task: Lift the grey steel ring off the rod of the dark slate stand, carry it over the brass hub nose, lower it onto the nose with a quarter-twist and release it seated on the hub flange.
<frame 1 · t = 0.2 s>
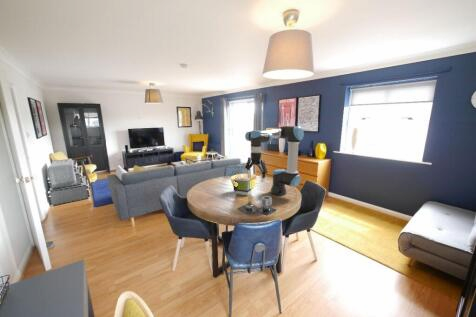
hand: (255, 180, 148), 27 cm above the table, fingers open, 13 cm apart
hub: (249, 209, 161), on the table
stand: (266, 210, 159), on the table
ring: (266, 203, 158), point 6 cm above the table, touching stand
tea box: (242, 193, 196), on the table
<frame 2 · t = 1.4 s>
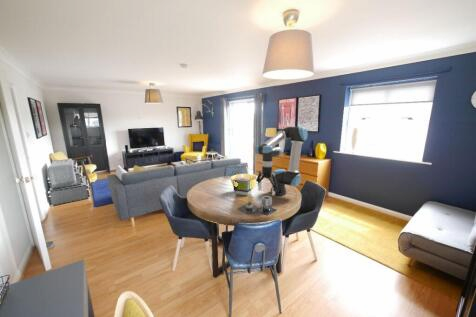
hand: (266, 192, 155), 15 cm above the table, fingers open, 13 cm apart
nothing on the table moved.
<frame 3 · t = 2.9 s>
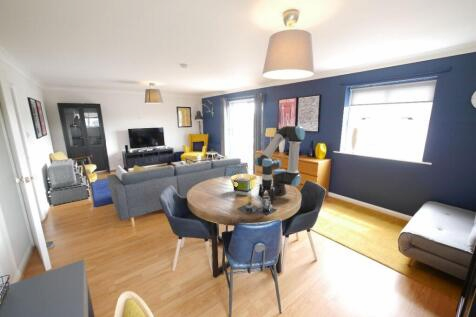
hand: (266, 206, 158), 3 cm above the table, fingers closed on ring, 8 cm apart
ring: (266, 203, 158), point 6 cm above the table, touching gripper, stand
everything else where it was.
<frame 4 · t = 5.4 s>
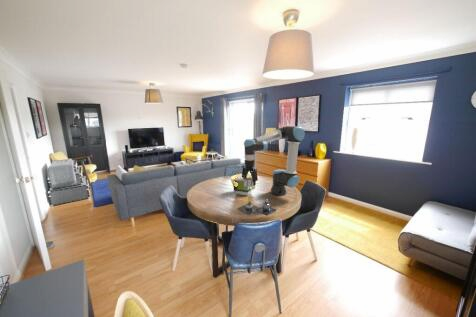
hand: (249, 187, 158), 18 cm above the table, fingers closed on ring, 8 cm apart
ring: (249, 185, 157), point 20 cm above the table, touching gripper
everything else where it was.
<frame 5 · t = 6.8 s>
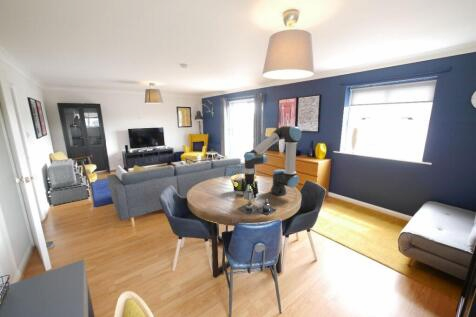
hand: (249, 200, 160), 8 cm above the table, fingers closed on ring, 8 cm apart
ring: (249, 197, 159), point 10 cm above the table, touching gripper
everything else where it was.
when the fingers open (4 cm above the table, at t = 7.8 s): ring drops 3 cm, resting on hub.
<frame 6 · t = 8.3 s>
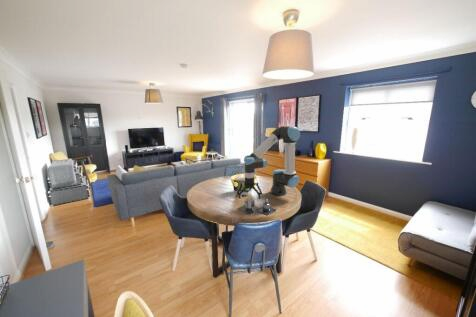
hand: (249, 202, 160), 6 cm above the table, fingers open, 13 cm apart
ring: (249, 204, 161), point 4 cm above the table, touching hub
everything else where it was.
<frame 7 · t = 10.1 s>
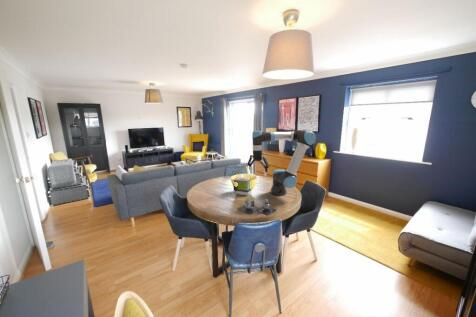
hand: (258, 174, 168), 25 cm above the table, fingers open, 13 cm apart
nothing on the table moved.
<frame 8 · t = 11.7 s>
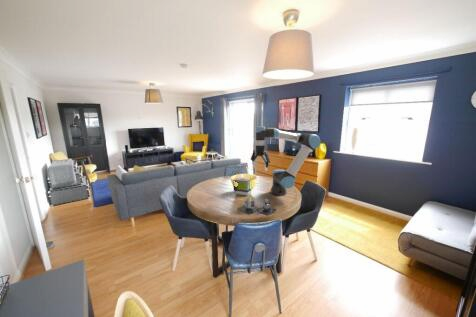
hand: (259, 169, 171), 29 cm above the table, fingers open, 13 cm apart
nothing on the table moved.
at the end: ring 0.0 cm off-centre on the hub, point 3.6 cm above the hub's base; ring tilted 0°; the gripper is holding nothing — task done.
